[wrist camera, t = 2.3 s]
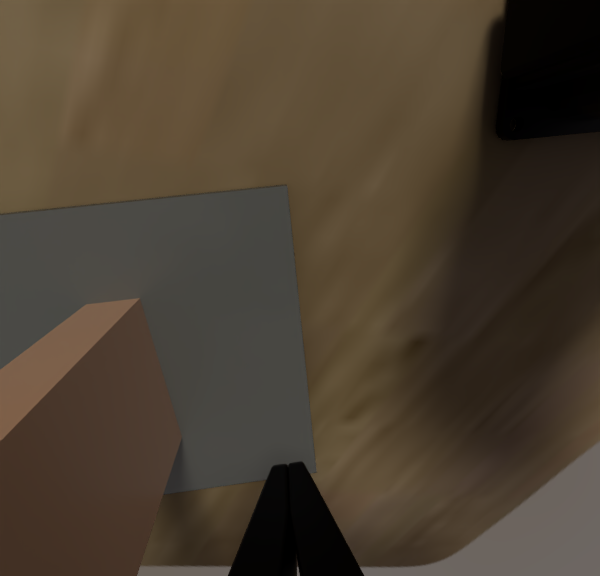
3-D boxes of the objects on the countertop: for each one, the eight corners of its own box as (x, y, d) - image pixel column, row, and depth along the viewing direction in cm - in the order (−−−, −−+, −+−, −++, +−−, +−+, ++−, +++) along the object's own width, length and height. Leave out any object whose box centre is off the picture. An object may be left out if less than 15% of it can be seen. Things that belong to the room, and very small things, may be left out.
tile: (139, 298, 12) (-69, 512, 5) (181, 436, 15) (90, 716, 7) (82, 304, 12) (-222, 533, 5) (135, 443, 15) (-5, 732, 7)
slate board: (286, 184, 12) (288, 188, 10) (314, 459, 17) (319, 491, 15) (-295, 243, 11) (-396, 258, 9) (-79, 514, 16) (-119, 555, 14)
